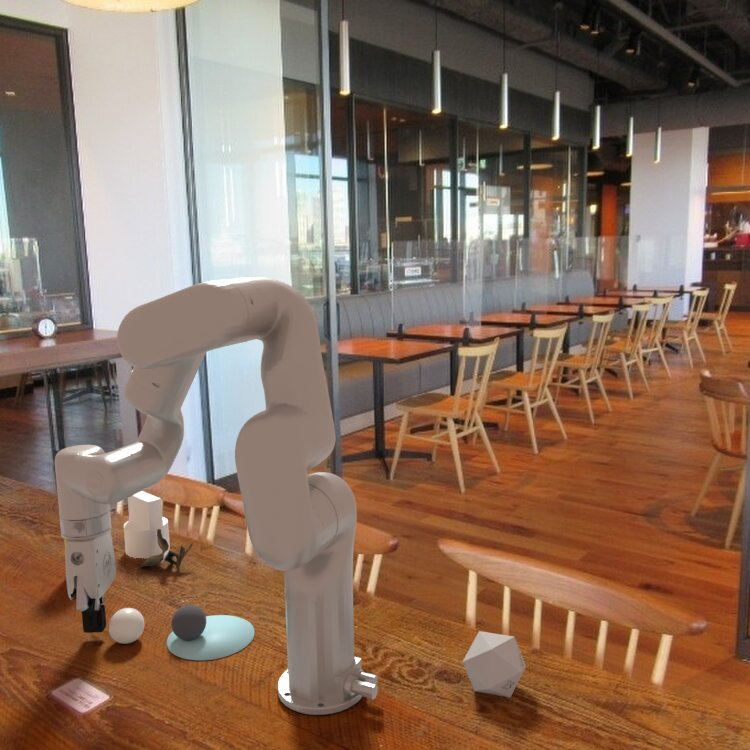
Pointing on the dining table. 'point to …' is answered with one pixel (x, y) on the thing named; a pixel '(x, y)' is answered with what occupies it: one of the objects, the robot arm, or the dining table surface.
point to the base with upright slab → (144, 526)
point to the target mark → (214, 639)
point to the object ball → (188, 622)
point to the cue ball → (126, 625)
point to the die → (494, 664)
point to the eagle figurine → (166, 553)
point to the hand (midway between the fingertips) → (95, 629)
